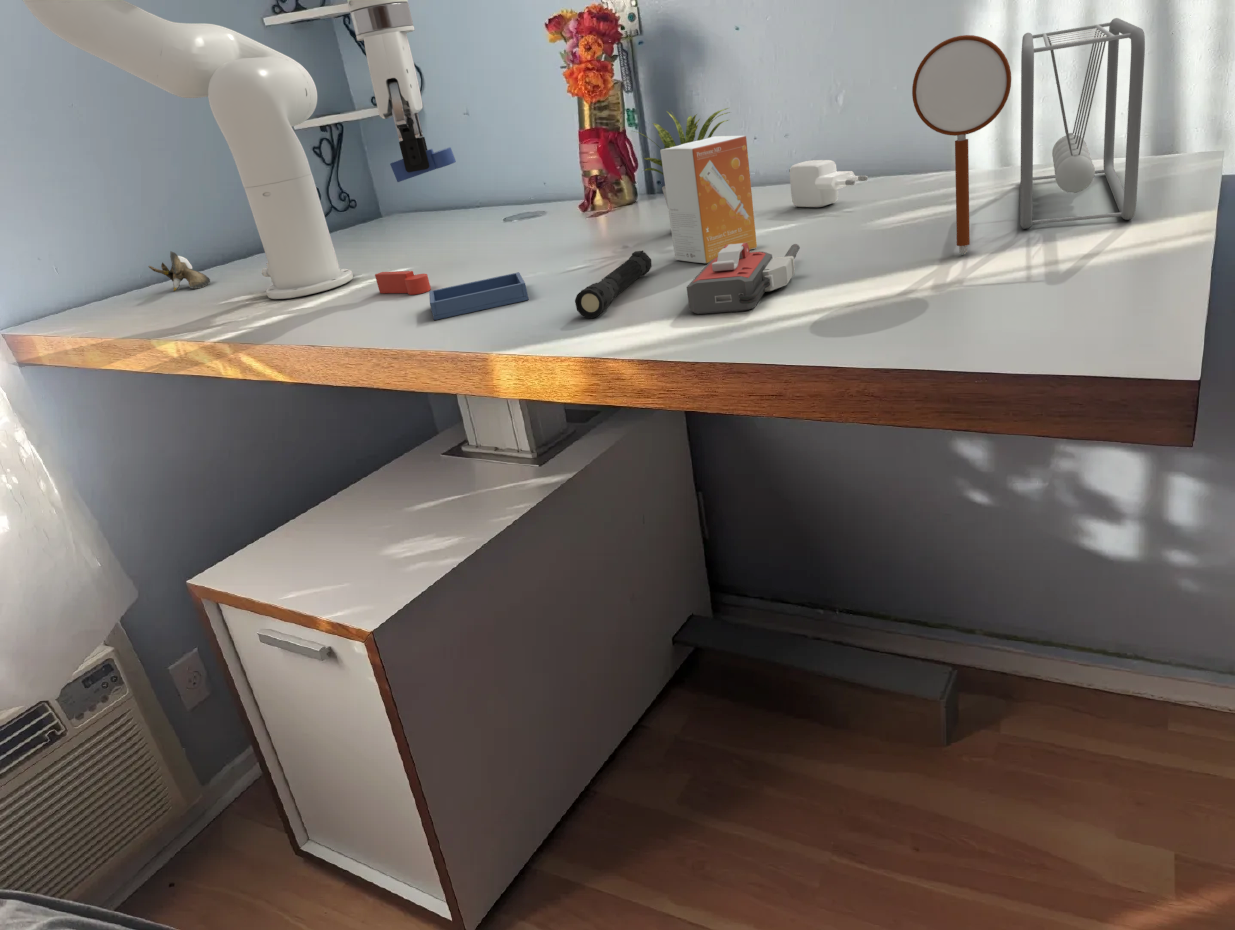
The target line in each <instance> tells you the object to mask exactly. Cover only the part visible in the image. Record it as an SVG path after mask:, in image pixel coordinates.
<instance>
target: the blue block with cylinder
mask: <svg viewBox="0 0 1235 930" xmlns="http://www.w3.org/2000/svg"><path fill="white" fill-rule="evenodd" d="M426 154H427V158H428V162H429V168H428V169H425V170H420V171H414V172H407V171H406V169H405V165H404V161H403V158H401V159H397V160H395V161H392V162H390V164H389V165H390V168H391V170H392V173H393V175H394V177H395V180H396V182H397V183H400V182H403V181H406V180H409V179H412V178H415V177H417V176H421V175H423V174H426V173H429V172H432V171H435V170H439V169H441V168H445V167H447V166H450V165H452V164H454V163H456V162H457V160H456V157H455V155H454V152H453V150H452V147H450V146H449V147H445V148H443V149H440V150H437V151H434V149H433V148H429V149H427V150H426Z"/></svg>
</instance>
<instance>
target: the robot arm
mask: <svg viewBox="0 0 1235 930" xmlns="http://www.w3.org/2000/svg"><path fill="white" fill-rule="evenodd" d="M22 2H23V4H24V5H25V7H26V8H27V9H28V10H29V12H30V13H31V14H32V15H33V17H34V18H36V20H37V21H38V22H39V23H40V24H42V25H43V27H45V28H46V29H48V30H49V31H50V32H51V33H52V34H54V35H55V36H57V37H59V38H60V39H61V40H63V41H65V42H67V43H68V44H70V45H72V46H73V47H75V48H77V49H79V50H81V51H84V53H85V52H86V53H88V54H89V55H92V56H94V57H96V58H98V59H100V60H103V61H104V62H106V63H109V64H111V65H113V66H115V67H117V68H118V69H119V70H122V71H123V72H125V73H128V74H130V75H132V76H135V77H137V78H139V79H141V80H143V81H145V82H147V83H148V84H151V85H153V86H155V87H157V88H158V89H161V90H163V91H165V92H167V93H169V94H171V95H173V96H176V97H179V98H183V99H199V98H200V99H201V98H208V103H209V107H210V110H211V113H212V116H213V117H214V118H213V119H214V120H215V122H216V124H217V126H218V128H219V130H220V131H221V132H220V133H222V135H223V137H224V139H225V141H226V143H227V145H228V148H229V151H230V153H231V155H232V159H233V160H234V163H235V166H236V169H237V172H238V174H239V178H240V180H241V183H242V187H243V189H244V192H245V195H246V198H247V202H248V205H249V207H250V210H251V213H252V216H253V220H254V223H255V227H256V230H257V232H258V235H259V238H260V241H261V245H262V248H263V250H264V254H265V257H266V260H267V262H266V267H263V268H262V269H261V275H262V276H263V277H265V278H270V279H271V283H272V285H270V286H269V287H267V288H266V290H265V292H266V295H267V298H269V299H272V300H284V299H285V300H286V299H294V298H300V297H305V296H310V295H314V294H317V293H322V292H325V291H328V290H332V289H335V288H338V287H340V286H343V285H345V284H348V283H349V282H351V281H352V280H353V278H354V275H353V271H352V270H351V269H348V268H340V264H339V261H338V257H337V254H336V251H335V248H334V247H335V246H334V244H333V239H332V237H331V233H330V230H329V227H328V223H327V220H326V216H325V212H324V210H323V206H322V202H321V200H320V197H319V193H318V189H317V185H316V182H315V178H314V176H313V173H312V170H311V166H310V163H309V160H308V157H307V155H306V151H305V150H304V147H303V145H302V143H301V141H300V139H299V138H298V135H297V134H296V132H295V130H294V129H293V127H295V126H298V125H301V124H303V123H304V122H306V121H307V120H308V119H309V118H310V117H311V116H312V115H313V113H314V112H315V110H316V108H317V105H318V90H317V86H316V83H315V81H314V79H313V77H312V75H311V74H310V73H309V71H308V70H307V69H306V68H305V67H304V66H303V65H302V64H301V63H300V62H298V61H297V60H295V59H293V58H292V57H290V56H288V55H287V54H284V53H282V52H280V51H277V50H275V49H273V48H271V47H269V46H267V45H266V44H263V43H261V42H259V41H257V40H255V39H253V38H251V37H248V36H246V35H245V34H242V33H240V32H238V31H235V30H233V29H231V28H228V27H225V26H222V25H218V24H215V23H199V22H197V23H196V22H195V23H193V22H191V23H188V22H176V21H171V20H168V19H165V18H163V17H160V16H158V15H156V14H154V13H151V12H149V11H146V10H145V9H143V8H141V7H139V6H137V5H135V4H133V3H131V2H128V1H126V0H22ZM346 2H347V5H348V10H349V13H350V17H351V21H352V22H351V23H352V25H353V29H354V33H355V36H356V41H357V42H361V41H363V42H364V43H363V44H364V51H365V54H366V56H365V57H366V62H367V66H368V69H369V71H368V72H369V76H370V80H371V85H372V88H373V94H374V99H375V102H376V108H377V112H378V115H379V117H380V118H381V119H384V120H387V119H391V118H392V119H393V122H394V126H395V130H396V134H397V138H398V145H399V149H400V152H401V157H402V159H403V161H404V165H405V169H406V171H407V172H414V171H420V170H425V169H428V168H429V162H428V158H427V154H426V150H428V146H427V141H426V138H425V136H424V132H423V129H422V124H421V120H420V115H419V113H420V112H421V111H422V109H423V108H424V107H423V106H424V105H423V99H422V94H421V88H420V84H419V80H418V75H417V70H416V67H415V62H414V57H413V54H412V50H411V46H410V42H409V38H408V34H409V33H412V32H414V31H415V30H416V29H415V26H414V22H413V17H412V12H411V9H410V5H409V4H410V3H409V0H346Z"/></svg>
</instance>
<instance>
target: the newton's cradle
mask: <svg viewBox="0 0 1235 930" xmlns="http://www.w3.org/2000/svg"><path fill="white" fill-rule="evenodd" d="M1107 27H1109V28H1108V30H1107V29H1105V28H1107ZM1041 38H1043V42H1044V45H1045V46H1041V47H1034V39H1041ZM1124 39H1130V65H1129V67H1130V68H1129V87H1128V103H1127V107H1128V108H1127V126H1126V146H1125V165H1124V183H1123V184H1124V186H1123V185H1122V183H1121V180H1120V178H1119V176H1118V174H1117V172H1116V169H1115V139H1116V116H1117V115H1116V114H1117V95H1118V94H1117V93H1118V92H1117V91H1118V69H1119V49H1120V40H1124ZM1106 44H1107V60H1106V61H1107V65H1106V88H1105V109H1104V110H1105V112H1104V113H1105V114H1104V115H1105V116H1104V134H1103V135H1104V137H1103V169H1098V170H1096V169H1095V165H1094V163H1093V160H1092V159H1093V158H1092V157H1091V154H1090V151H1089V148H1088V146H1087V142H1086V140H1085V135H1086V131H1087V128H1088V127H1087V126H1088V122H1089V117H1090V113H1091V110H1092V105H1093V100H1094V96H1095V90H1096V86H1097V82H1098V78H1099V74H1100V69H1101V65H1102V60H1103V56H1104V52H1105V47H1106ZM1086 45H1092V46H1091V51H1090V54H1089V59H1088V62H1087V66H1086V67H1087V68H1086V72H1085V77H1084V81H1083V84H1082V90H1081V94H1080V98H1079V104H1078V108H1077V112H1076V117H1075V120H1074V125H1073V129H1072V132H1069V128H1068V123H1067V117H1066V112H1065V106H1064V101H1063V95H1062V89H1061V84H1060V78H1059V73H1058V72H1059V71H1058V68H1057V62H1056V56H1055V50H1061V49H1067V48H1073V47H1080V46H1086ZM1048 51H1050V55H1051V61H1052V67H1053V72H1054V78H1055V84H1056V89H1057V93H1058V99H1059V105H1060V110H1061V115H1062V121H1063V127H1064V133H1065V135H1064V136H1062V137H1060V138H1059V139H1057V141H1056V142H1055V144H1053V145H1054V146H1053V147H1052V151H1051V157H1052V163H1053V169H1054V174H1051V175H1041V176H1034V102H1035V101H1034V98H1035V97H1034V94H1035V90H1034V89H1035V53H1041V52H1048ZM1020 52H1021V53H1020V76H1021V77H1020V194H1019V195H1020V197H1019V199H1020V202H1019V205H1020V206H1019V208H1020V211H1019V213H1020V215H1019V219H1020V220H1019V222H1020V227H1021V229H1024V230H1027V229H1030V228H1031V227H1032V226H1033V225H1040V224H1041V225H1042V224H1053V223H1063V222H1074V221H1086V220H1087V221H1088V220H1097V219H1107V218H1119V217H1121V218H1122V219H1123V220H1125V221H1130V220H1132V219H1133V218H1134V216H1135V214H1136V210H1137V198H1138V185H1139V184H1138V182H1139V162H1140V146H1141V145H1140V144H1141V129H1142V128H1141V127H1142V111H1143V91H1144V90H1143V89H1144V74H1145V73H1144V72H1145V56H1146V54H1145V52H1146V36H1145V32H1144V29H1143V28H1141V27H1139V26H1137V25H1135V24H1132V23H1130V22H1128V21H1125V20H1123V19H1121V18H1119V17H1115V18H1113V19H1112V20H1111V21H1110V22H1104V23H1098V24H1092V25H1086V26H1080V27H1075V28H1068V29H1061V30H1055V31H1050V32H1044V33H1043V32H1042V33H1038V34H1037V33H1036V34H1032V33H1031V32H1026V33H1024V34H1023V35H1022V40H1021V51H1020ZM1097 174H1104V175H1105V178H1106V181H1107V183H1108V186H1109V189H1110V192H1111V193H1112V196H1113V198H1114V202H1115V204H1116V206H1117V208H1118V211H1119V212H1112V213H1101V214H1088V215H1079V216H1066V217H1055V218H1045V219H1033V196H1034V195H1033V192H1034V191H1033V189H1034V188H1033V187H1034V184H1033V183H1034V182H1033V181H1041V180H1053V179H1055V182H1056V184H1057V186H1058V188H1060V190H1062V191H1064V192H1066V193H1070V194H1071V193H1072V194H1076V193H1079V192H1082V191H1084V190H1085V189H1087V188H1088V187H1089V186H1090V185H1091V184H1092V182H1093V181H1094V178H1095V176H1096V175H1097Z"/></svg>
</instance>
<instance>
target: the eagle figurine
mask: <svg viewBox="0 0 1235 930" xmlns="http://www.w3.org/2000/svg"><path fill="white" fill-rule="evenodd" d="M169 257H170V263H171V267H170V269H169V268H168V266H167V265H166V264H165V263H164V262H163V261H162V262H161V264H160V265H161V266H160V268H161V269H159V268H156V267H154V266H152V265H148V268H149V269H150V270H151V271H153V272H155V273H158V274H162V275H164V276H166V277H167V278H169V279H170V280H171V282H172V283H173V284H172V285H173V292H176V290H177V289H178V288H179V287H181V286H180V285H181V282H182V281H183V280H184V279H185V280H186V281H187V282H188V286H189V288H190V289H201V288H204V287H206V286H208V285H210V283H211V279H210V278H209V277H208V276H207V275H206V274H204V273H202V272H200V271H197V270H194V269H193V265H192V264H191V263H190V261H189V260H188V258H186V257H184V256H182V255H178V254H177V253H176V252H173V251H171V250H170V253H169Z"/></svg>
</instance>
